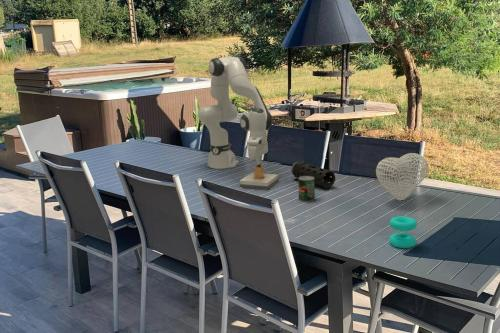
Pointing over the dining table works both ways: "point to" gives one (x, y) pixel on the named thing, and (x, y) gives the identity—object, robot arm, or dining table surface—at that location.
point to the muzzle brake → (314, 174)
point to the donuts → (403, 238)
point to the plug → (259, 172)
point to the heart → (379, 174)
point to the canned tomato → (306, 188)
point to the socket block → (259, 181)
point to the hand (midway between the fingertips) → (259, 164)
